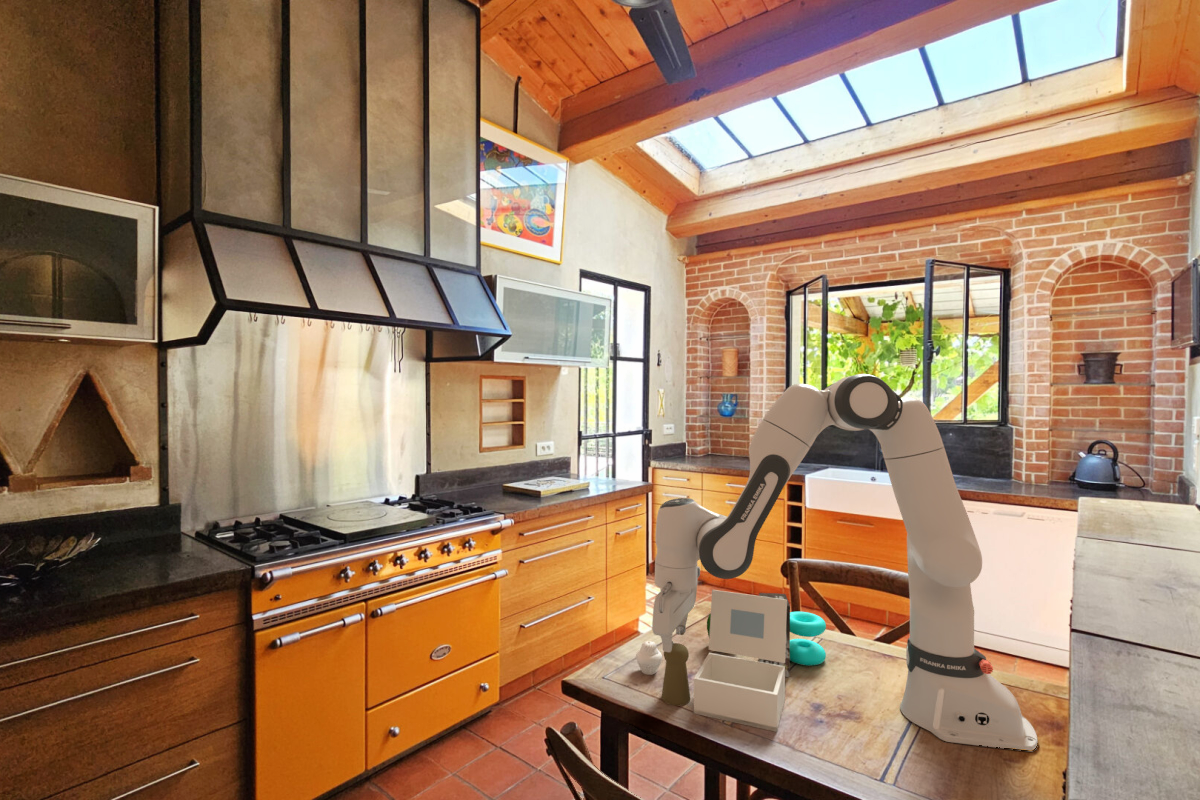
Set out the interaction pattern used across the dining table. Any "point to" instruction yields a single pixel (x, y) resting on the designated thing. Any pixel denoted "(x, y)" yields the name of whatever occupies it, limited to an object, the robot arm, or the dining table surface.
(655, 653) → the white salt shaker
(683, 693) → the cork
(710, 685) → the base
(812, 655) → the donuts
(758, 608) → the mailer lid
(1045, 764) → the dining table surface
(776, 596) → the coffee box
